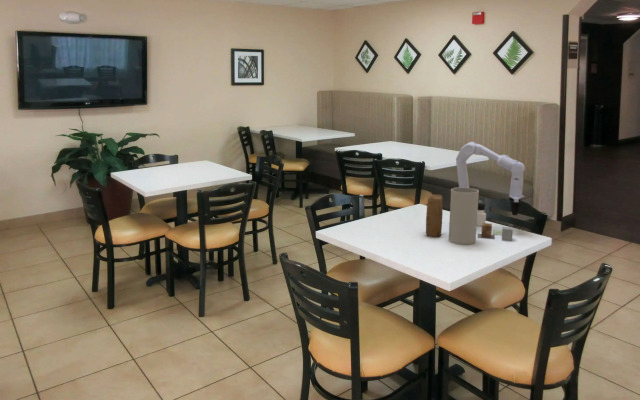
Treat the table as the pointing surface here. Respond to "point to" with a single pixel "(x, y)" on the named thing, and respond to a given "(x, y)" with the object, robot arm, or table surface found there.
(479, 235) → the tile
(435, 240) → the table surface
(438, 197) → the block
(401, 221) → the table surface
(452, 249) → the table surface
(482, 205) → the medicine bottle
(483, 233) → the walnut block
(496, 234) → the sage mat
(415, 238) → the table surface
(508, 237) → the slate block
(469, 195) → the cylinder vase
